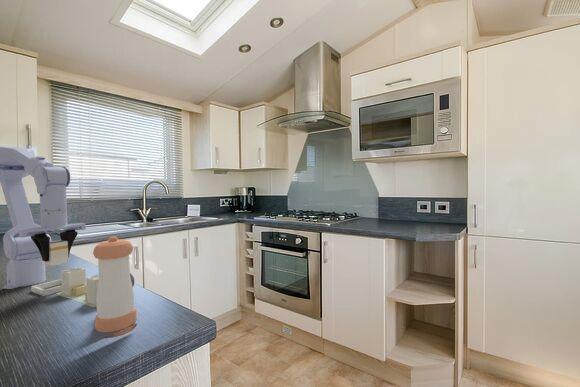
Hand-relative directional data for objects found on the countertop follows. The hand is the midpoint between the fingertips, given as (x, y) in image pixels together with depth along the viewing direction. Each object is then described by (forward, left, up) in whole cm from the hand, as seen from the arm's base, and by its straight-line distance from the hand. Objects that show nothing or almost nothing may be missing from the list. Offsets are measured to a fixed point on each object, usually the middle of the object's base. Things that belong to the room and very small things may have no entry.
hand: (55, 259), depth 80 cm
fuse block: (+13, -1, -10) cm, 16 cm away
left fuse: (+6, 0, -9) cm, 11 cm away
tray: (-1, 0, -10) cm, 10 cm away
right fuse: (+19, -2, -9) cm, 21 cm away
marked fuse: (0, 0, -1) cm, 1 cm away
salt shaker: (+34, -10, -10) cm, 37 cm away
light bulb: (+28, -4, -10) cm, 30 cm away
